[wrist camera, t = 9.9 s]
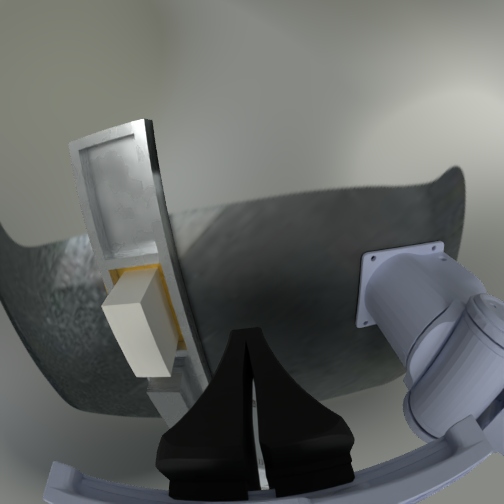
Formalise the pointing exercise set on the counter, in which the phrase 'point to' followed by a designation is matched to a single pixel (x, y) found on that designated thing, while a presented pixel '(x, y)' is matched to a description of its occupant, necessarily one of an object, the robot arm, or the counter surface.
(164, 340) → the tall white prism
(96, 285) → the counter surface
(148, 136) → the tray
